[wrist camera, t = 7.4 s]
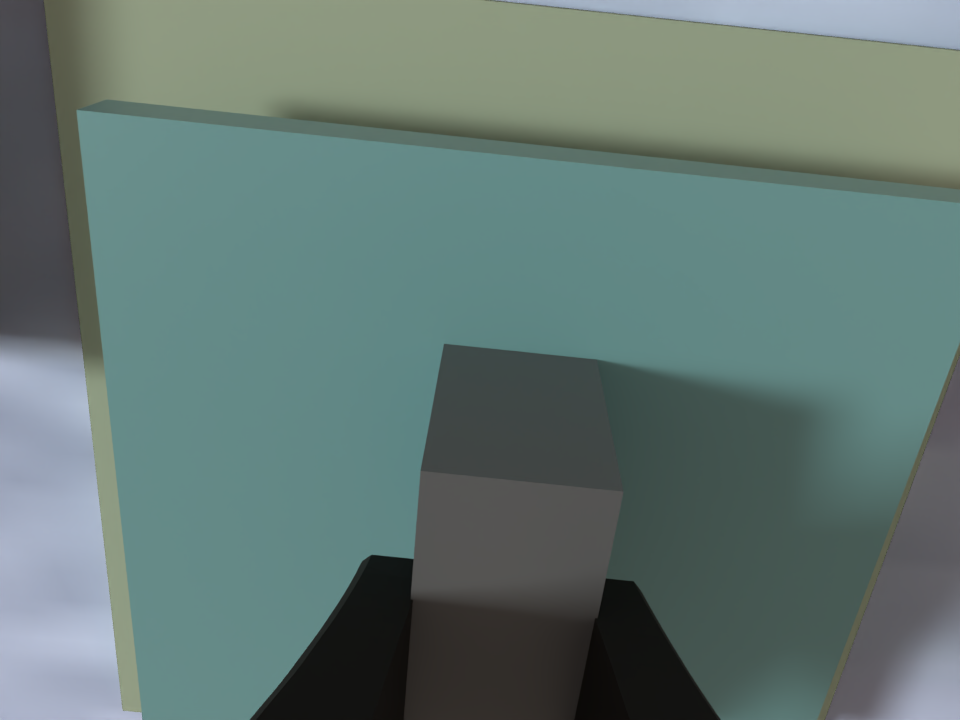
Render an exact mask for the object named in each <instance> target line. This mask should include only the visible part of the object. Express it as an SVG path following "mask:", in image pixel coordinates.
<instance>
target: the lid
mask: <svg viewBox="0 0 960 720" xmlns="http://www.w3.org/2000/svg"><path fill="white" fill-rule="evenodd" d="M77 120H78V129H79V138H80V147H81V156H82V166H83V175H84V184H85V193H86V203H87V212H88V221H89V230H90V240H91V249H92V258H93V267H94V276H95V286H96V295H97V304H98V313H99V323H100V332H101V341H102V350H103V360H104V369H105V378H106V387H107V396H108V406H109V415H110V424H111V433H112V443H113V452H114V461H115V470H116V480H117V489H118V498H119V507H120V516H121V526H122V535H123V544H124V553H125V563H126V572H127V581H128V590H129V600H130V609H131V618H132V627H133V636H134V646H135V655H136V664H137V673H138V683H139V692H140V701H141V710H142V720H250V719H251V717H252V716H253V715H254V714H255V713H256V711H257V710H258V709H259V708H260V707H261V706H262V704H263V703H264V702H265V701H266V700H267V698H268V697H269V696H270V695H271V694H272V692H273V691H274V690H275V689H276V688H277V687H278V685H279V684H280V683H281V682H282V680H283V679H284V678H285V676H286V675H287V674H288V673H289V671H290V670H291V669H292V667H293V666H294V664H295V663H296V662H297V660H298V659H299V658H300V656H301V655H302V654H303V652H304V651H305V650H306V648H307V647H308V646H309V644H310V643H311V642H312V640H313V639H314V638H315V636H316V635H317V634H318V632H319V631H320V629H321V628H322V626H323V625H324V623H325V622H326V620H327V619H328V617H329V616H330V615H331V613H332V612H333V610H334V609H335V607H336V606H337V604H338V602H339V601H340V599H341V598H342V596H343V594H344V593H345V591H346V590H347V588H348V586H349V584H350V583H351V581H352V579H353V577H354V576H355V574H356V572H357V570H358V568H359V566H360V564H361V562H362V561H363V560H364V559H366V558H367V557H369V556H370V555H381V556H391V557H400V558H410V559H414V560H413V573H412V586H411V599H410V600H413V605H412V618H411V631H410V644H409V656H408V669H407V682H406V695H405V708H404V720H574V719H575V714H576V709H577V704H578V699H579V694H580V690H581V685H582V680H583V675H584V670H585V665H586V660H587V655H588V651H589V646H590V641H591V636H592V631H593V626H594V621H595V618H598V614H599V609H600V604H601V599H602V595H603V590H604V585H605V580H606V578H607V579H617V580H627V581H634V582H635V584H636V585H637V586H638V587H639V589H640V590H641V592H642V593H643V595H644V597H645V599H646V600H647V602H648V604H649V606H650V608H651V609H652V611H653V613H654V615H655V616H656V618H657V620H658V622H659V623H660V625H661V627H662V628H663V630H664V632H665V633H666V635H667V637H668V639H669V640H670V642H671V644H672V645H673V647H674V648H675V650H676V652H677V653H678V655H679V657H680V658H681V660H682V661H683V663H684V665H685V666H686V668H687V670H688V671H689V673H690V674H691V676H692V677H693V679H694V681H695V682H696V684H697V685H698V687H699V688H700V690H701V691H702V693H703V694H704V696H705V697H706V699H707V700H708V702H709V703H710V705H711V706H712V708H713V709H714V711H715V712H716V714H717V715H718V717H719V718H720V719H721V720H817V719H818V716H819V714H820V711H821V708H822V706H823V703H824V700H825V698H826V695H827V692H828V690H829V687H830V685H831V682H832V679H833V677H834V674H835V671H836V669H837V666H838V663H839V661H840V658H841V655H842V653H843V650H844V647H845V645H846V642H847V640H848V637H849V634H850V632H851V629H852V626H853V624H854V621H855V618H856V616H857V613H858V610H859V608H860V605H861V603H862V600H863V597H864V595H865V592H866V589H867V587H868V584H869V581H870V579H871V576H872V573H873V571H874V568H875V566H876V563H877V560H878V558H879V555H880V552H881V550H882V547H883V544H884V542H885V539H886V536H887V534H888V531H889V529H890V526H891V523H892V521H893V518H894V515H895V513H896V510H897V507H898V505H899V502H900V499H901V497H902V494H903V492H904V489H905V486H906V484H907V481H908V478H909V476H910V473H911V470H912V468H913V465H914V462H915V460H916V457H917V454H918V452H919V449H920V447H921V444H922V441H923V439H924V436H925V433H926V431H927V428H928V425H929V423H930V420H931V417H932V415H933V412H934V410H935V407H936V404H937V402H938V399H939V396H940V394H941V391H942V388H943V386H944V383H945V380H946V378H947V375H948V373H949V370H950V367H951V365H952V362H953V359H954V357H955V354H956V351H957V349H958V346H959V343H960V189H951V188H941V187H932V186H922V185H913V184H904V183H894V182H885V181H875V180H866V179H856V178H847V177H837V176H828V175H818V174H809V173H799V172H790V171H780V170H771V169H761V168H752V167H742V166H733V165H723V164H714V163H705V162H695V161H686V160H676V159H667V158H657V157H648V156H638V155H629V154H619V153H610V152H600V151H591V150H581V149H572V148H562V147H553V146H543V145H534V144H525V143H515V142H506V141H496V140H487V139H477V138H468V137H458V136H449V135H439V134H430V133H420V132H411V131H401V130H392V129H382V128H373V127H363V126H354V125H344V124H335V123H326V122H316V121H307V120H297V119H288V118H278V117H269V116H259V115H250V114H240V113H231V112H221V111H212V110H202V109H193V108H183V107H174V106H164V105H155V104H146V103H136V102H127V101H117V100H108V99H106V100H103V101H100V102H98V103H95V104H92V105H89V106H86V107H83V108H81V109H78V110H77Z"/></svg>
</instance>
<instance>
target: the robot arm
mask: <svg viewBox="0 0 960 720" xmlns="http://www.w3.org/2000/svg"><path fill="white" fill-rule="evenodd" d="M413 560H414V559H410V558H400V557H391V556H381V555H370V556H369V557H367V558H366V559H364V560H363V561H362V562H361V564H360V566H359V568H358V570H357V572H356V574H355V576H354V577H353V579H352V581H351V583H350V584H349V586H348V588H347V590H346V591H345V593H344V594H343V596H342V598H341V599H340V601H339V602H338V604H337V606H336V607H335V609H334V610H333V612H332V613H331V615H330V616H329V617H328V619H327V620H326V622H325V623H324V625H323V626H322V628H321V629H320V631H319V632H318V634H317V635H316V636H315V638H314V639H313V640H312V642H311V643H310V644H309V646H308V647H307V648H306V650H305V651H304V652H303V654H302V655H301V656H300V658H299V659H298V660H297V662H296V663H295V664H294V666H293V667H292V669H291V670H290V671H289V673H288V674H287V675H286V676H285V678H284V679H283V680H282V682H281V683H280V684H279V685H278V687H277V688H276V689H275V690H274V691H273V692H272V694H271V695H270V696H269V697H268V698H267V700H266V701H265V702H264V703H263V704H262V706H261V707H260V708H259V709H258V710H257V711H256V713H255V714H254V715H253V716H252V717H251V719H250V720H404V708H405V695H406V682H407V669H408V656H409V644H410V631H411V618H412V605H413V600H410V599H411V586H412V573H413ZM574 720H721V719H720V718H719V717H718V715H717V714H716V712H715V711H714V709H713V708H712V706H711V705H710V703H709V702H708V700H707V699H706V697H705V696H704V694H703V693H702V691H701V690H700V688H699V687H698V685H697V684H696V682H695V681H694V679H693V677H692V676H691V674H690V673H689V671H688V670H687V668H686V666H685V665H684V663H683V661H682V660H681V658H680V657H679V655H678V653H677V652H676V650H675V648H674V647H673V645H672V644H671V642H670V640H669V639H668V637H667V635H666V633H665V632H664V630H663V628H662V627H661V625H660V623H659V622H658V620H657V618H656V616H655V615H654V613H653V611H652V609H651V608H650V606H649V604H648V602H647V600H646V599H645V597H644V595H643V593H642V592H641V590H640V589H639V587H638V586H637V585H636V584H635V582H634V581H627V580H617V579H607V578H606V580H605V585H604V590H603V595H602V599H601V604H600V609H599V614H598V618H595V621H594V626H593V631H592V636H591V641H590V646H589V651H588V655H587V660H586V665H585V670H584V675H583V680H582V685H581V690H580V694H579V699H578V704H577V709H576V714H575V719H574Z"/></svg>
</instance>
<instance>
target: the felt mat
mask: <svg viewBox="0 0 960 720" xmlns="http://www.w3.org/2000/svg"><path fill="white" fill-rule="evenodd" d="M44 8H45V17H46V26H47V35H48V44H49V53H50V62H51V71H52V80H53V89H54V98H55V107H56V116H57V125H58V134H59V143H60V152H61V161H62V170H63V179H64V188H65V197H66V206H67V215H68V224H69V233H70V242H71V251H72V260H73V269H74V278H75V287H76V296H77V305H78V314H79V323H80V332H81V341H82V350H83V359H84V368H85V377H86V386H87V395H88V404H89V413H90V422H91V431H92V440H93V448H94V457H95V466H96V475H97V484H98V493H99V502H100V511H101V520H102V529H103V538H104V547H105V556H106V565H107V574H108V583H109V592H110V601H111V610H112V619H113V628H114V637H115V646H116V655H117V664H118V673H119V682H120V691H121V700H122V709H123V711H133V712H142V710H141V701H140V692H139V683H138V673H137V664H136V655H135V646H134V636H133V627H132V618H131V609H130V600H129V590H128V581H127V572H126V563H125V553H124V544H123V535H122V526H121V516H120V507H119V498H118V489H117V480H116V470H115V461H114V452H113V443H112V433H111V424H110V415H109V406H108V396H107V387H106V378H105V369H104V360H103V350H102V341H101V332H100V323H99V313H98V304H97V295H96V286H95V276H94V267H93V258H92V249H91V240H90V230H89V221H88V212H87V203H86V193H85V184H84V175H83V166H82V156H81V147H80V138H79V129H78V120H77V110H78V109H81V108H83V107H86V106H89V105H92V104H95V103H98V102H100V101H103V100H106V99H108V100H117V101H127V102H136V103H146V104H155V105H164V106H174V107H183V108H193V109H202V110H212V111H221V112H231V113H240V114H250V115H259V116H269V117H278V118H288V119H297V120H307V121H316V122H326V123H335V124H344V125H354V126H363V127H373V128H382V129H392V130H401V131H411V132H420V133H430V134H439V135H449V136H458V137H468V138H477V139H487V140H496V141H506V142H515V143H525V144H534V145H543V146H553V147H562V148H572V149H581V150H591V151H600V152H610V153H619V154H629V155H638V156H648V157H657V158H667V159H676V160H686V161H695V162H705V163H714V164H723V165H733V166H742V167H752V168H761V169H771V170H780V171H790V172H799V173H809V174H818V175H828V176H837V177H847V178H856V179H866V180H875V181H885V182H894V183H904V184H913V185H922V186H932V187H941V188H951V189H960V50H954V49H945V48H935V47H926V46H917V45H907V44H898V43H888V42H879V41H870V40H860V39H851V38H841V37H832V36H823V35H813V34H804V33H795V32H785V31H776V30H766V29H757V28H748V27H738V26H729V25H720V24H710V23H701V22H691V21H682V20H673V19H663V18H654V17H644V16H635V15H626V14H616V13H607V12H598V11H588V10H579V9H569V8H560V7H551V6H541V5H532V4H523V3H513V2H504V1H494V0H44ZM959 356H960V343H959V346H958V349H957V351H956V354H955V357H954V359H953V362H952V365H951V367H950V370H949V373H948V375H947V378H946V380H945V383H944V386H943V388H942V391H941V394H940V396H939V399H938V402H937V404H936V407H935V410H934V412H933V415H932V417H931V420H930V423H929V425H928V428H927V431H926V433H925V436H924V439H923V441H922V444H921V447H920V449H919V452H918V454H917V457H916V460H915V462H914V465H913V468H912V470H911V473H910V476H909V478H908V481H907V484H906V486H905V489H904V492H903V494H902V497H901V499H900V502H899V505H898V507H897V510H896V513H895V515H894V518H893V521H892V523H891V526H890V529H889V531H888V534H887V536H886V539H885V542H884V544H883V547H882V550H881V552H880V555H879V558H878V560H877V563H876V566H875V568H874V571H873V573H872V576H871V579H870V581H869V584H868V587H867V589H866V592H865V595H864V597H863V600H862V603H861V605H860V608H859V610H858V613H857V616H856V618H855V621H854V624H853V626H852V629H851V632H850V634H849V637H848V640H847V642H846V645H845V647H844V650H843V653H842V655H841V658H840V661H839V663H838V666H837V669H836V671H835V674H834V677H833V679H832V682H831V685H830V687H829V690H828V692H827V695H826V698H825V700H824V703H823V706H822V708H821V711H820V714H819V716H818V719H817V720H825V718H826V715H827V712H828V710H829V707H830V704H831V702H832V699H833V696H834V693H835V691H836V688H837V685H838V683H839V680H840V677H841V674H842V672H843V669H844V666H845V664H846V661H847V658H848V656H849V653H850V650H851V647H852V645H853V642H854V639H855V637H856V634H857V631H858V629H859V626H860V623H861V620H862V618H863V615H864V612H865V610H866V607H867V604H868V602H869V599H870V596H871V593H872V591H873V588H874V585H875V583H876V580H877V577H878V574H879V572H880V569H881V566H882V564H883V561H884V558H885V556H886V553H887V550H888V547H889V545H890V542H891V539H892V537H893V534H894V531H895V529H896V526H897V523H898V520H899V518H900V515H901V512H902V510H903V507H904V504H905V501H906V499H907V496H908V493H909V491H910V488H911V485H912V483H913V480H914V477H915V474H916V472H917V469H918V466H919V464H920V461H921V458H922V456H923V453H924V450H925V447H926V445H927V442H928V439H929V437H930V434H931V431H932V429H933V426H934V423H935V420H936V418H937V415H938V412H939V410H940V407H941V404H942V401H943V399H944V396H945V393H946V391H947V388H948V385H949V383H950V380H951V377H952V374H953V372H954V369H955V366H956V364H957V361H958V358H959Z"/></svg>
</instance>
